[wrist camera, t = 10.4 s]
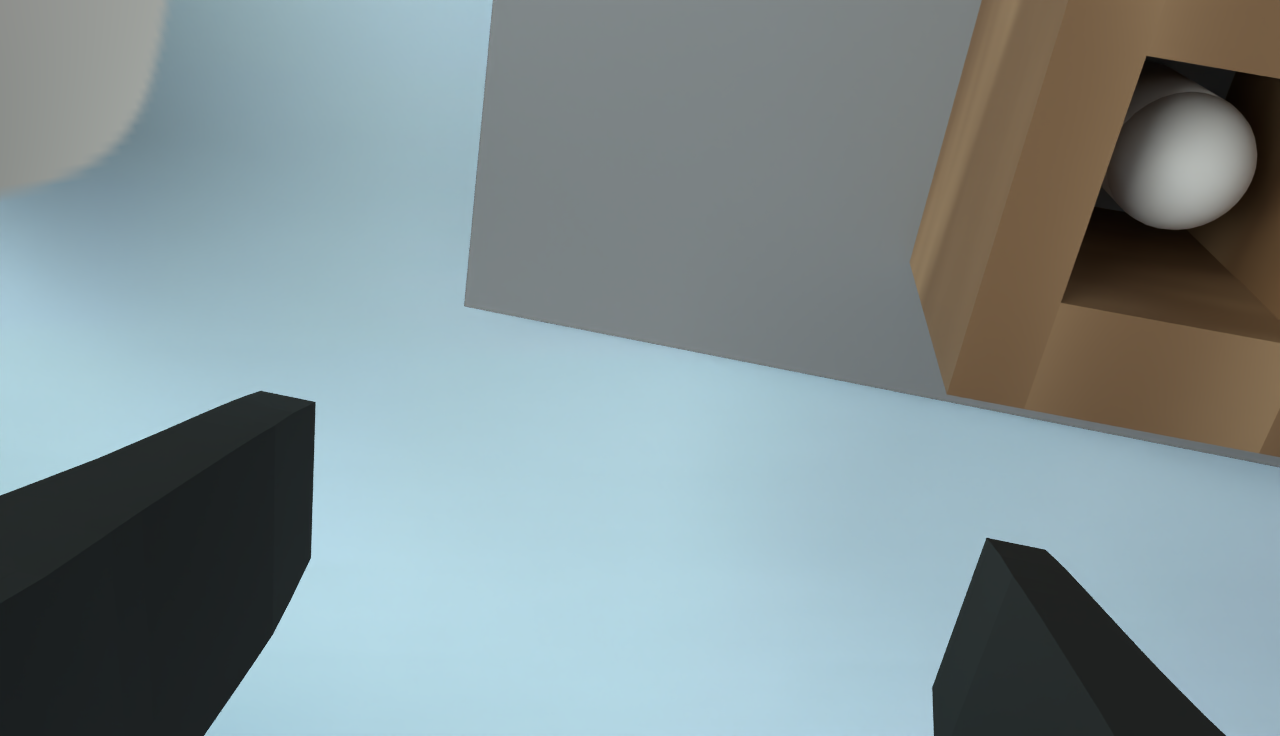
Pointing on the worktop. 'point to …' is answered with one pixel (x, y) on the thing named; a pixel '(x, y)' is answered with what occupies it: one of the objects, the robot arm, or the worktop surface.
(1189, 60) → the collar
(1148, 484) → the worktop surface
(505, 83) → the hub board
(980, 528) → the worktop surface
